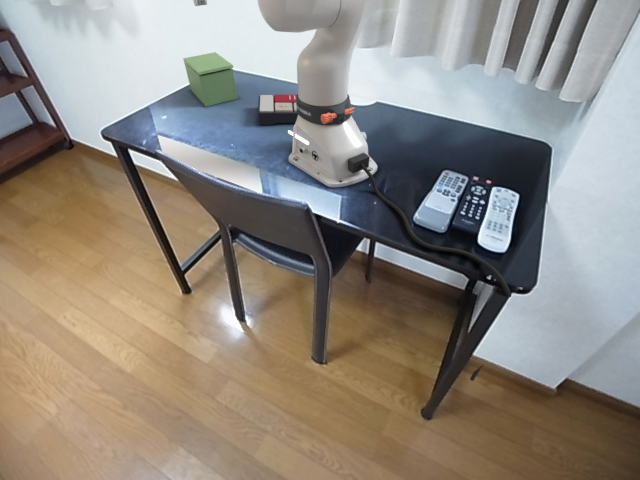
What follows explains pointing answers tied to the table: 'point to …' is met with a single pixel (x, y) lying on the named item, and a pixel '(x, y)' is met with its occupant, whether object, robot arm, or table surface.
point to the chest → (212, 85)
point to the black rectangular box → (277, 109)
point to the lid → (207, 63)
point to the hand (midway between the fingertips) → (200, 5)
